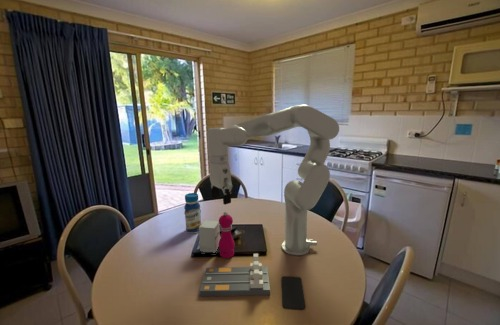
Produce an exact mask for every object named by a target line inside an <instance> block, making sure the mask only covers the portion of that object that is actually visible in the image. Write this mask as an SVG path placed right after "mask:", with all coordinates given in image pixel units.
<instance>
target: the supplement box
mask: <svg viewBox="0 0 500 325" xmlns="http://www.w3.org/2000/svg"><path fill="white" fill-rule="evenodd" d="M220 232H221V230H220V224H219V220H204V221H203V222H201V226H200V227H199V232H198V236H199V237H198V238H199V252H200V251H203V252H213V253H215V252H216V251H217V252H218V250H219V249H218V247H219V241H220V238H221V235H220V234H221V233H220ZM217 249H218V250H217ZM217 252H216V253H217Z"/></svg>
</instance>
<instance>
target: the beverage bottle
mask: <svg viewBox="0 0 500 325" xmlns="http://www.w3.org/2000/svg"><path fill="white" fill-rule="evenodd" d="M184 201H185V205H184V207H183V209H184V211H183V212H184V213H183V214H184V215H185V216H184V219H185V232H186V233H188V234H199V227H200V226H201V224H202V218H201V214H202V210H201V204H200V202H199V194H198V193H196V192H189V193H187V194H185V195H184Z"/></svg>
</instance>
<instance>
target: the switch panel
mask: <svg viewBox="0 0 500 325" xmlns="http://www.w3.org/2000/svg"><path fill="white" fill-rule="evenodd" d="M268 269H269V268H268V266H262V270H259V271H262V274H263V279H259V280H263V288H250V280H254V279H250V271H254V270H250V266H235V267H234V266H233V267H232V266H231V267H228V266H227V267H225V266H224V267H222V266H221V267H206V268H205V271H204V274H203V278H202V282H201V286H200V289H199V296H200V297H214V296H215V297H221V296H222V297H225V296H226V297H228V296H230V297H231V296H233V297H234V296H270V295H271V287H270V286H271V285H270V276H269V270H268Z"/></svg>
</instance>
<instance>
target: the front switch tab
mask: <svg viewBox="0 0 500 325" xmlns="http://www.w3.org/2000/svg"><path fill="white" fill-rule="evenodd" d="M250 288H263V280H259V270H254V280H250Z"/></svg>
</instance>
